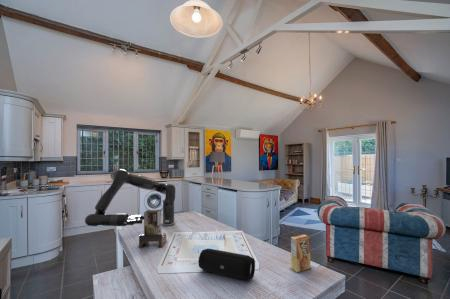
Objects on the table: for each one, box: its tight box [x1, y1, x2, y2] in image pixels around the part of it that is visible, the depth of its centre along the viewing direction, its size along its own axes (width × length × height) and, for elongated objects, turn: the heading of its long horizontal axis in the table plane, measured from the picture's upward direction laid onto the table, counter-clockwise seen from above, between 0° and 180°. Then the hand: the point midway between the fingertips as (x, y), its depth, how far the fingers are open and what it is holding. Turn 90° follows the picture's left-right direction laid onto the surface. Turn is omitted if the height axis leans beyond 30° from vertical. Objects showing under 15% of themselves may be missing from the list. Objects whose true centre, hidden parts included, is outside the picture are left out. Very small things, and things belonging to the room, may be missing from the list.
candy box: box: [290, 234, 311, 273], centre depth 105 cm, size 9×4×15 cm, turn 116°
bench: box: [138, 232, 167, 249], centre depth 137 cm, size 10×14×8 cm
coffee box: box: [143, 209, 162, 235], centre depth 137 cm, size 9×6×16 cm
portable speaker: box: [197, 248, 256, 281], centre depth 101 cm, size 26×10×10 cm, turn 66°
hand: (144, 219), depth 137 cm, fingers open, 8 cm apart
